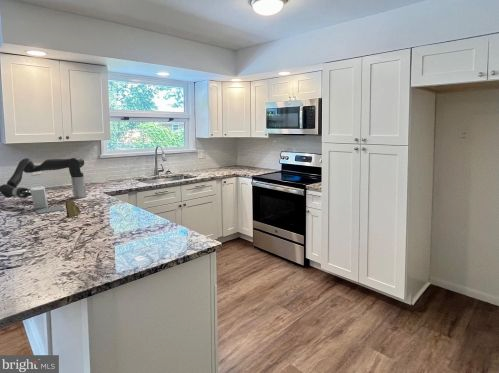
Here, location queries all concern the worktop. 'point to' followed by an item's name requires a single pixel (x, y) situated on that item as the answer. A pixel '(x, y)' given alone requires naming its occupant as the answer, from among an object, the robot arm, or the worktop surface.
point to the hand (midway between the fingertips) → (36, 194)
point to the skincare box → (39, 197)
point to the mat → (49, 209)
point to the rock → (71, 208)
